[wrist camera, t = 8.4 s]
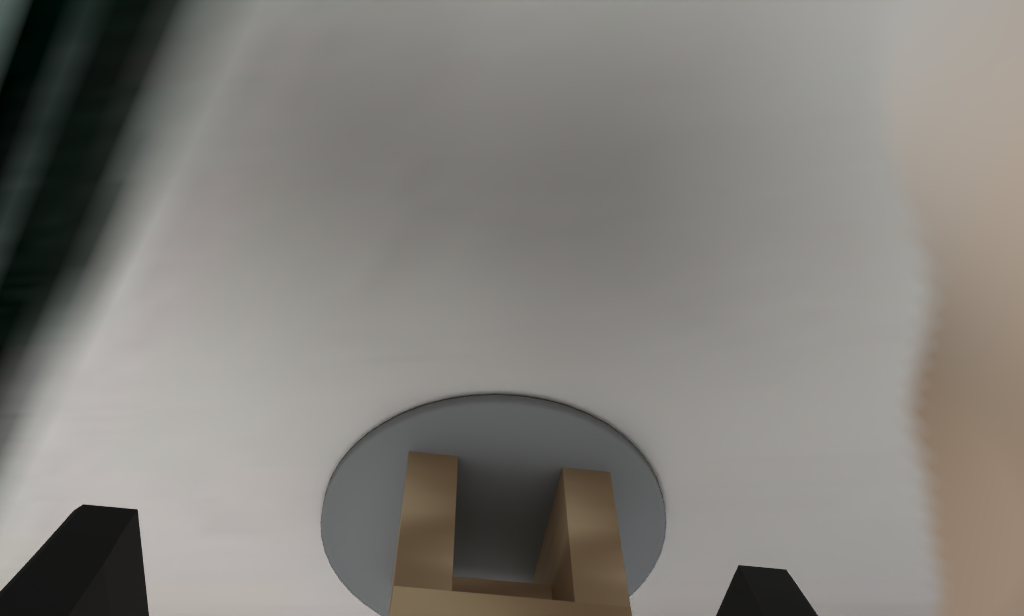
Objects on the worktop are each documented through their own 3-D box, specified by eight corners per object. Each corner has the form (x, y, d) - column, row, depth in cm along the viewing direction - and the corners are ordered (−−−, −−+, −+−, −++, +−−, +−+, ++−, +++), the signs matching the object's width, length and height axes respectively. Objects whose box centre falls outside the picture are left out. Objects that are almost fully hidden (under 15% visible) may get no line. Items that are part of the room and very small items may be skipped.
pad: (704, 416, 22) (707, 427, 22) (621, 642, 27) (623, 654, 27) (330, 375, 21) (328, 386, 21) (316, 617, 26) (314, 629, 26)
